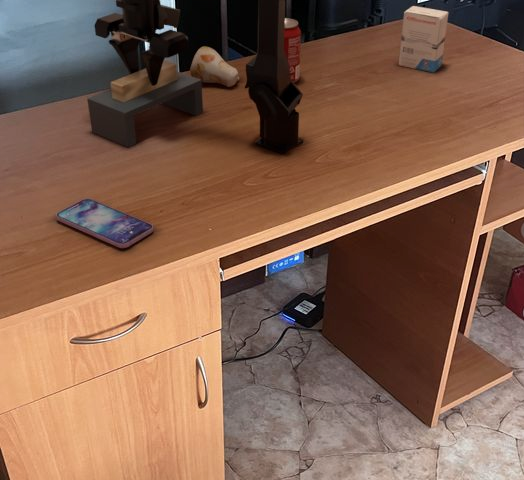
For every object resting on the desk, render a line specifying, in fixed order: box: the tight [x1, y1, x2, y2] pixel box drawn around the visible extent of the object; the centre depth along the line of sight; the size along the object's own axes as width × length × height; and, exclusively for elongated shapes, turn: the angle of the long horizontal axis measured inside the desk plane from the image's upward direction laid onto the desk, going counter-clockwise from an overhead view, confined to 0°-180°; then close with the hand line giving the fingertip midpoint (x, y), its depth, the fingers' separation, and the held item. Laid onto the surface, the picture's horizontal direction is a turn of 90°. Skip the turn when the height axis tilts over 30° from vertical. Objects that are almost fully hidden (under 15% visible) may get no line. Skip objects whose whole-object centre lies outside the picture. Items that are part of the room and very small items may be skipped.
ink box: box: [398, 5, 449, 73], centre depth 170 cm, size 9×5×12 cm, turn 58°
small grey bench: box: [86, 71, 204, 148], centre depth 149 cm, size 10×20×7 cm, turn 141°
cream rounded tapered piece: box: [189, 46, 240, 88], centre depth 164 cm, size 8×10×10 cm
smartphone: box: [55, 198, 154, 249], centre depth 122 cm, size 7×1×15 cm
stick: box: [110, 60, 178, 102], centre depth 146 cm, size 14×3×3 cm, turn 141°
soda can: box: [284, 17, 302, 84], centre depth 163 cm, size 7×7×12 cm
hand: (145, 81), depth 146 cm, fingers open, 4 cm apart
